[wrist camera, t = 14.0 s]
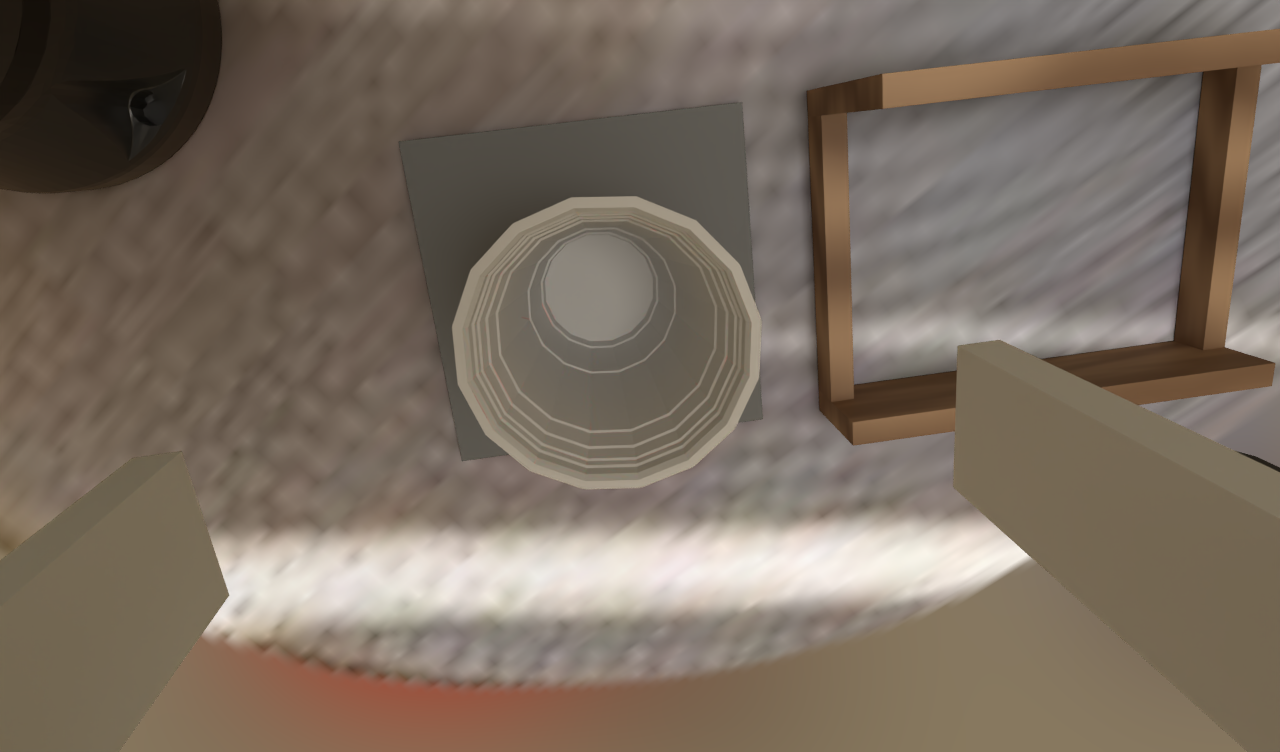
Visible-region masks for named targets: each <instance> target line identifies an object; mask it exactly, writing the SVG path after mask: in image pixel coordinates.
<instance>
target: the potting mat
mask: <svg viewBox="0 0 1280 752" xmlns="http://www.w3.org/2000/svg"><path fill="white" fill-rule="evenodd" d="M399 147H400V152H401V157H402V162H403V167H404V172H405V177H406V182H407V187H408V192H409V197H410V202H411V207H412V212H413V217H414V222H415V227H416V232H417V237H418V242H419V247H420V252H421V257H422V262H423V267H424V272H425V277H426V282H427V287H428V292H429V297H430V302H431V307H432V312H433V318H434V323H435V328H436V333H437V338H438V343H439V348H440V353H441V358H442V363H443V368H444V373H445V378H446V383H447V388H448V393H449V398H450V403H451V408H452V413H453V418H454V423H455V428H456V433H457V438H458V443H459V448H460V453H461V458H462V461H467V460H474V459H481V458H488V457H495V456H502V455H509V454H508V453H507V452H506V451H505V450H503V449H502V448H501V447H500V446H498V445H497V444H496V443H495V442H494V441H492V440H491V439H490V438H489V437H487V436H486V435H485V433H484V431H483V429H482V428H481V426H480V424H479V422H478V420H477V419H476V417H475V415H474V413H473V411H472V409H471V408H470V406H469V404H468V402H467V400H466V399H465V397H464V395H463V393H462V391H461V390H460V388H459V386H458V381H457V372H456V362H455V352H454V342H453V333H452V325H453V322H454V319H455V316H456V313H457V310H458V307H459V304H460V300H461V297H462V294H463V291H464V288H465V285H466V282H467V279H468V276H469V273H470V270H471V269H472V268H473V267H474V265H475V264H476V263H477V262H478V261H479V260H480V259H481V258H482V257H483V256H484V254H485V253H486V252H487V251H488V250H489V249H490V248H491V247H492V246H493V244H494V243H495V242H496V241H497V240H498V239H499V238H500V237H501V236H502V235H503V233H504V232H505V231H506V230H507V229H508V228H509V227H510V226H511V225H512V224H513V223H515V222H517V221H519V220H522V219H524V218H526V217H528V216H531V215H533V214H535V213H537V212H540V211H542V210H544V209H546V208H549V207H551V206H553V205H555V204H557V203H560V202H562V201H564V200H566V199H569V198H571V197H622V196H637V197H639V198H642V199H644V200H647V201H649V202H652V203H654V204H657V205H659V206H662V207H664V208H667V209H669V210H672V211H674V212H677V213H679V214H682V215H684V216H687V217H689V218H691V219H694V220H696V221H697V222H698V223H699V224H700V225H701V226H702V227H703V228H704V229H705V230H706V231H707V232H708V233H709V234H710V235H711V236H712V237H713V238H714V239H715V240H716V241H717V242H718V243H719V244H720V245H721V246H722V247H723V248H724V249H725V250H726V251H727V252H728V253H729V254H730V255H731V256H732V257H733V258H734V259H735V260H736V261H737V262H738V263H739V264H740V266H741V268H742V271H743V274H744V276H745V279H746V281H747V284H748V286H749V289H750V292H751V294H752V297H753V299H754V302H755V291H754V276H753V260H752V245H751V229H750V214H749V199H748V183H747V168H746V153H745V137H744V122H743V106H742V102H740V103H731V104H723V105H714V106H705V107H696V108H688V109H679V110H670V111H662V112H653V113H644V114H635V115H627V116H618V117H609V118H600V119H592V120H583V121H574V122H565V123H557V124H548V125H539V126H530V127H522V128H513V129H504V130H496V131H487V132H478V133H469V134H461V135H452V136H443V137H434V138H426V139H417V140H408V141H399ZM761 419H763V414H762V399H761V383H760V370H759V379H758V381H757V383H756V385H755V388H754V390H753V392H752V394H751V396H750V398H749V400H748V402H747V404H746V406H745V409H744V411H743V413H742V415H741V417H740V419H739V421H738V423H739V422H746V421H754V420H761Z"/></svg>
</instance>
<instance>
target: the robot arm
mask: <svg viewBox="0 0 1280 752" xmlns="http://www.w3.org/2000/svg"><path fill="white" fill-rule="evenodd" d="M220 59H221V21H220V13H219V6H218V1H217V0H0V189H4V190H11V191H19V192H27V193H62V192H74V191H85V190H94V189H101V188H106V187H110V186H115V185H118V184H121V183H125V182H128V181H130V180H133V179H135V178H137V177H140V176H142V175H144V174H146V173H148V172H149V171H151V170H153V169H154V168H156V167H158V166H159V165H161V164H162V163H163V162H165V161H166V160H167V159H169V158H170V157H171V156H172V155H173V154H174V153H175V152H176V151H178V150H179V149H180V148H181V146H182V145H183V144H184V143H185V142H186V141H187V140H188V139H189V137H190V136H191V135H192V133H193V132H194V131H195V129H196V128H197V126H198V124H199V123H200V121H201V120H202V118H203V116H204V114H205V112H206V110H207V108H208V105H209V103H210V100H211V98H212V95H213V92H214V89H215V86H216V81H217V77H218V73H219V66H220ZM953 487H954V488H955V489H956V490H957V491H958V492H959V493H960V494H961V495H962V496H964V497H965V498H966V499H967V500H968V501H969V502H970V503H971V504H972V505H974V506H975V507H976V508H977V509H978V510H979V511H980V512H981V513H982V514H984V515H985V516H986V517H987V518H988V519H989V520H990V521H991V522H992V523H994V524H995V525H996V526H997V527H998V528H999V529H1000V530H1001V531H1002V532H1004V533H1005V534H1006V535H1007V536H1008V537H1009V538H1010V539H1011V540H1012V541H1014V542H1015V543H1016V544H1017V545H1018V546H1019V547H1020V548H1021V549H1022V550H1024V551H1025V552H1026V553H1027V554H1028V555H1029V556H1030V557H1031V558H1032V559H1034V560H1035V561H1036V562H1037V563H1038V564H1039V565H1040V566H1041V567H1043V568H1044V569H1045V570H1046V571H1047V572H1048V573H1049V574H1050V575H1051V576H1052V577H1054V578H1055V579H1056V580H1057V581H1058V582H1059V583H1060V584H1061V585H1063V586H1064V587H1065V588H1066V589H1067V590H1068V591H1069V592H1070V593H1072V595H1074V596H1075V597H1076V598H1077V599H1078V600H1079V601H1080V602H1081V603H1082V604H1084V605H1085V606H1086V607H1087V608H1088V609H1089V610H1090V611H1091V612H1092V613H1094V614H1095V615H1096V616H1097V617H1098V618H1099V619H1100V620H1101V621H1103V622H1104V623H1105V624H1106V625H1107V626H1108V627H1109V628H1110V629H1111V630H1113V631H1114V632H1115V633H1116V634H1117V635H1118V636H1119V637H1120V638H1121V639H1122V640H1124V641H1125V642H1126V643H1127V644H1128V645H1129V646H1130V647H1131V648H1133V649H1134V650H1135V651H1136V652H1137V653H1138V654H1139V655H1140V656H1141V657H1143V658H1144V659H1145V660H1146V661H1147V662H1148V663H1149V664H1150V665H1151V666H1152V667H1154V668H1155V669H1156V670H1157V671H1158V672H1159V673H1160V674H1161V675H1162V676H1164V677H1165V678H1166V679H1167V680H1168V681H1169V682H1170V683H1172V684H1173V685H1174V686H1175V687H1176V688H1177V689H1178V690H1179V691H1180V692H1181V693H1183V694H1184V695H1185V696H1186V697H1187V698H1188V699H1189V700H1190V701H1191V702H1193V703H1194V704H1195V705H1196V706H1197V707H1198V708H1199V709H1200V710H1201V711H1202V712H1204V713H1205V714H1206V715H1207V716H1208V717H1209V718H1210V719H1212V721H1214V722H1215V723H1216V724H1217V725H1218V726H1219V727H1220V728H1221V729H1222V730H1224V731H1225V732H1226V733H1227V734H1228V735H1229V736H1230V737H1231V738H1233V739H1234V740H1235V741H1236V742H1237V743H1238V744H1239V745H1240V746H1242V747H1243V748H1244V749H1245V750H1246V751H1247V752H1280V468H1279V467H1277V466H1275V465H1273V464H1271V463H1268V462H1267V461H1264V460H1262V459H1260V458H1258V457H1255V456H1252V455H1248V454H1245V453H1241V452H1237V451H1234V450H1231V449H1229V448H1227V447H1225V446H1223V445H1221V444H1219V443H1217V442H1215V441H1212V440H1210V439H1208V438H1206V437H1204V436H1202V435H1200V434H1198V433H1196V432H1193V431H1191V430H1189V429H1187V428H1185V427H1183V426H1181V425H1179V424H1176V423H1174V422H1172V421H1170V420H1168V419H1166V418H1164V417H1162V416H1160V415H1157V414H1155V413H1153V412H1151V411H1149V410H1147V409H1145V408H1143V407H1141V406H1138V405H1136V404H1134V403H1132V402H1130V401H1128V400H1126V399H1124V398H1122V397H1119V396H1117V395H1115V394H1113V393H1111V392H1109V391H1107V390H1105V389H1102V388H1100V387H1098V386H1096V385H1094V384H1092V383H1090V382H1088V381H1086V380H1083V379H1081V378H1079V377H1077V376H1075V375H1073V374H1071V373H1069V372H1067V371H1064V370H1062V369H1060V368H1058V367H1056V366H1054V365H1052V364H1050V363H1048V362H1045V361H1043V360H1041V359H1039V358H1037V357H1035V356H1033V355H1031V354H1028V353H1026V352H1024V351H1022V350H1020V349H1018V348H1016V347H1014V346H1012V345H1009V344H1007V343H1005V342H1003V341H1001V340H996V341H988V342H981V343H974V344H966V345H959V346H958V352H957V384H956V416H955V447H954V479H953ZM228 596H229V593H228V590H227V587H226V584H225V581H224V578H223V575H222V572H221V569H220V566H219V563H218V560H217V557H216V554H215V551H214V548H213V545H212V542H211V539H210V536H209V533H208V530H207V527H206V524H205V521H204V518H203V515H202V512H201V509H200V506H199V503H198V500H197V497H196V494H195V491H194V487H193V484H192V481H191V478H190V475H189V472H188V469H187V466H186V463H185V460H184V457H183V454H182V451H180V452H172V453H165V454H158V455H150V456H143V457H136V458H132V459H131V460H129V461H128V462H127V463H126V464H124V465H123V466H122V467H120V468H119V469H118V470H116V471H115V472H114V473H113V474H111V475H110V476H109V477H107V478H106V479H105V480H104V481H102V482H101V483H100V484H98V485H97V486H96V487H95V488H93V489H92V490H91V491H89V492H88V493H87V494H85V495H84V496H83V497H82V498H80V499H79V500H78V501H76V502H75V503H74V504H73V505H71V506H70V507H69V508H67V509H66V510H65V511H63V512H62V513H61V514H60V515H58V516H57V517H56V518H54V519H53V520H52V521H51V522H49V523H48V524H47V525H45V526H44V527H43V528H42V529H40V530H39V531H38V532H36V533H35V534H34V535H32V536H31V537H30V538H29V539H27V540H26V541H25V542H23V543H22V544H21V545H20V546H18V547H17V548H16V549H14V550H13V551H12V552H11V553H9V554H8V555H7V556H5V557H4V558H3V559H1V560H0V752H119V751H120V750H121V748H122V747H123V745H124V744H125V743H126V741H127V740H128V738H129V737H130V735H131V734H132V733H133V731H134V730H135V728H136V727H137V726H138V724H139V723H140V721H141V719H142V718H143V717H144V716H145V714H146V713H147V711H148V710H149V708H150V707H151V706H152V704H153V703H154V701H155V700H156V699H157V697H158V696H159V694H160V693H161V691H162V690H163V688H164V687H165V686H166V684H167V683H168V681H169V680H170V679H171V677H172V676H173V674H174V673H175V671H176V670H177V669H178V667H179V666H180V664H181V663H182V661H183V660H184V659H185V657H186V656H187V654H188V653H189V652H190V650H191V649H192V647H193V646H194V644H195V643H196V642H197V640H198V639H199V637H200V636H201V635H202V633H203V632H204V630H205V629H206V627H207V626H208V625H209V623H210V622H211V620H212V619H213V617H214V616H215V615H216V613H217V612H218V610H219V609H220V608H221V606H222V605H223V603H224V602H225V600H226V599H227V598H228Z"/></svg>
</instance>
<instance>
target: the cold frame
mask: <svg viewBox="0 0 1280 752" xmlns="http://www.w3.org/2000/svg"><path fill="white" fill-rule="evenodd" d="M1271 63H1280V29H1274V30H1265V31H1256V32H1247V33H1238V34H1230V35H1221V36H1212V37H1203V38H1194V39H1185V40H1177V41H1168V42H1159V43H1150V44H1141V45H1133V46H1124V47H1115V48H1106V49H1097V50H1089V51H1080V52H1071V53H1062V54H1053V55H1045V56H1036V57H1027V58H1018V59H1009V60H1001V61H992V62H983V63H974V64H965V65H956V66H948V67H939V68H930V69H921V70H912V71H904V72H895V73H886V74H880V75H875V76H871V77H866V78H862V79H857V80H853V81H848V82H844V83H839V84H835V85H830V86H826V87H821V88H817V89H812V90H808V91H807V107H808V132H809V157H810V182H811V207H812V232H813V256H814V281H815V306H816V331H817V356H818V381H819V406H820V411H821V412H822V413H823V415H824V416H825V417H826V418H827V419H828V420H829V421H830V422H831V423H832V424H833V425H834V426H835V427H836V428H837V429H838V430H839V431H840V432H841V433H842V434H843V435H844V436H845V438H846V439H847V440H848V441H849V442H850V443H851V444H852V445H853V446H854V445H861V444H868V443H875V442H882V441H889V440H896V439H903V438H910V437H917V436H924V435H931V434H938V433H945V432H952V431H955V416H956V384H957V371H952V372H944V373H937V374H930V375H923V376H915V377H908V378H901V379H894V380H886V381H879V382H872V383H864V384H857V385H854V377H853V337H852V297H851V258H850V218H849V178H848V139H847V113H849V112H858V111H866V110H875V109H884V108H893V107H901V106H910V105H918V104H927V103H936V102H944V101H953V100H961V99H970V98H979V97H987V96H996V95H1004V94H1013V93H1022V92H1030V91H1039V90H1048V89H1056V88H1065V87H1073V86H1082V85H1091V84H1099V83H1108V82H1116V81H1125V80H1134V79H1142V78H1151V77H1159V76H1168V75H1177V74H1185V73H1194V72H1202V71H1204V72H1203V81H1202V90H1201V99H1200V108H1199V117H1198V126H1197V135H1196V145H1195V154H1194V163H1193V172H1192V181H1191V190H1190V199H1189V208H1188V217H1187V226H1186V236H1185V245H1184V254H1183V263H1182V272H1181V281H1180V290H1179V299H1178V308H1177V318H1176V327H1175V336H1174V341H1170V342H1162V343H1155V344H1148V345H1141V346H1133V347H1126V348H1119V349H1112V350H1104V351H1097V352H1090V353H1082V354H1075V355H1068V356H1061V357H1053V358H1046V359H1041V360H1043V361H1045V362H1048V363H1050V364H1052V365H1054V366H1056V367H1058V368H1060V369H1062V370H1064V371H1067V372H1069V373H1071V374H1073V375H1075V376H1077V377H1079V378H1081V379H1083V380H1086V381H1088V382H1090V383H1092V384H1094V385H1096V386H1098V387H1100V388H1102V389H1105V390H1107V391H1109V392H1111V393H1113V394H1115V395H1117V396H1119V397H1122V398H1124V399H1126V400H1128V401H1130V402H1132V403H1134V404H1136V405H1142V404H1149V403H1156V402H1163V401H1170V400H1177V399H1184V398H1191V397H1198V396H1205V395H1212V394H1219V393H1226V392H1233V391H1240V390H1247V389H1254V388H1261V387H1268V386H1272V381H1273V375H1274V368H1275V363H1274V362H1270V361H1267V360H1264V359H1261V358H1257V357H1254V356H1251V355H1248V354H1244V353H1241V352H1238V351H1235V350H1231V349H1228V348H1225V339H1226V332H1227V324H1228V317H1229V309H1230V301H1231V294H1232V286H1233V279H1234V271H1235V263H1236V256H1237V248H1238V240H1239V233H1240V225H1241V218H1242V210H1243V202H1244V195H1245V187H1246V180H1247V172H1248V164H1249V157H1250V149H1251V142H1252V134H1253V126H1254V119H1255V111H1256V103H1257V96H1258V88H1259V81H1260V73H1261V65H1263V64H1271Z"/></svg>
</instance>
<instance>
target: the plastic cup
mask: <svg viewBox="0 0 1280 752" xmlns="http://www.w3.org/2000/svg"><path fill="white" fill-rule="evenodd" d="M761 323H762V320H761V317H760V315H759V312H758V310H757V307H756V304H755V302H754V299H753V297H752V294H751V292H750V289H749V286H748V284H747V281H746V279H745V276H744V274H743V271H742V268H741V266H740V264H739V263H738V262H737V261H736V260H735V259H734V258H733V257H732V256H731V255H730V254H729V253H728V252H727V251H726V250H725V249H724V248H723V247H722V246H721V245H720V244H719V243H718V242H717V241H716V240H715V239H714V238H713V237H712V236H711V235H710V234H709V233H708V232H707V231H706V230H705V229H704V228H703V227H702V226H701V225H700V224H699V223H698V222H697V221H696V220H694V219H691V218H689V217H687V216H684V215H682V214H679V213H677V212H674V211H672V210H669V209H667V208H664V207H662V206H659V205H657V204H654V203H652V202H649V201H647V200H644V199H642V198H639V197H637V196H622V197H571V198H569V199H566V200H564V201H562V202H560V203H557V204H555V205H553V206H551V207H549V208H546V209H544V210H542V211H540V212H537V213H535V214H533V215H531V216H528V217H526V218H524V219H522V220H519V221H517V222H515V223H513V224H512V225H511V226H510V227H509V228H508V229H507V230H506V231H505V232H504V233H503V235H502V236H501V237H500V238H499V239H498V240H497V241H496V242H495V243H494V244H493V246H492V247H491V248H490V249H489V250H488V251H487V252H486V253H485V254H484V256H483V257H482V258H481V259H480V260H479V261H478V262H477V263H476V264H475V265H474V267H473V268H472V269H471V270H470V273H469V276H468V279H467V282H466V285H465V288H464V291H463V294H462V297H461V300H460V304H459V307H458V310H457V313H456V316H455V319H454V322H453V325H452V333H453V342H454V352H455V362H456V372H457V381H458V386H459V388H460V390H461V391H462V393H463V395H464V397H465V399H466V400H467V402H468V404H469V406H470V408H471V409H472V411H473V413H474V415H475V417H476V419H477V420H478V422H479V424H480V426H481V428H482V429H483V431H484V433H485V435H486V436H487V437H489V438H490V439H491V440H492V441H494V442H495V443H496V444H497V445H498V446H500V447H501V448H502V449H503V450H505V451H506V452H507V453H508V454H509V455H511V456H512V457H513V458H514V459H516V460H517V461H518V462H519V463H520V464H522V465H523V466H524V467H525V468H527V469H528V470H529V471H531V472H534V473H537V474H540V475H543V476H546V477H549V478H552V479H555V480H558V481H561V482H564V483H567V484H570V485H572V486H575V487H578V488H581V489H616V488H642V487H644V486H647V485H649V484H652V483H654V482H657V481H659V480H662V479H664V478H667V477H669V476H672V475H674V474H677V473H679V472H682V471H684V470H687V469H689V468H692V467H694V466H695V465H696V464H697V463H698V462H699V461H700V460H701V459H703V458H704V457H705V456H706V455H707V454H708V453H709V452H710V451H711V450H712V449H713V448H715V447H716V446H717V445H718V444H719V443H720V442H721V441H722V440H723V439H724V438H725V437H727V436H728V435H729V434H730V433H731V432H732V431H733V430H734V429H735V427H736V425H737V423H738V421H739V419H740V417H741V415H742V413H743V411H744V409H745V406H746V404H747V402H748V400H749V398H750V396H751V394H752V392H753V390H754V388H755V385H756V383H757V381H758V379H759V370H760V346H761Z"/></svg>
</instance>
